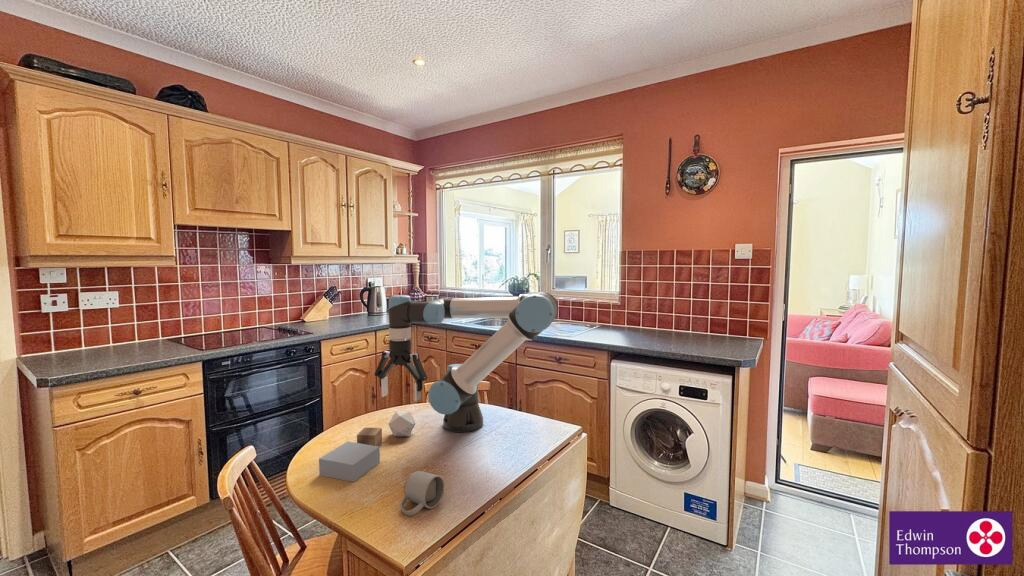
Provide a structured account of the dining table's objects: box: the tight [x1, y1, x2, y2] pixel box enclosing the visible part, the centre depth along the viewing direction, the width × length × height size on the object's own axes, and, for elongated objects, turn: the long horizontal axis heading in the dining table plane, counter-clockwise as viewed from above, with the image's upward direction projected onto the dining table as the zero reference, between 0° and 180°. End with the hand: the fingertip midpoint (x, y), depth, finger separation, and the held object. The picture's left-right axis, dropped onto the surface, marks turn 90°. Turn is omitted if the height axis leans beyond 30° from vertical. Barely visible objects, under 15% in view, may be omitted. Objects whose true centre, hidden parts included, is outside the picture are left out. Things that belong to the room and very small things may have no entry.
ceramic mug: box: [399, 470, 445, 517], centre depth 105 cm, size 11×8×8 cm
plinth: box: [318, 441, 381, 483], centre depth 123 cm, size 12×12×5 cm
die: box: [388, 410, 416, 437], centre depth 148 cm, size 8×9×10 cm
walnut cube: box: [356, 427, 383, 448], centre depth 137 cm, size 6×6×6 cm
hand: (400, 397), depth 147 cm, fingers open, 13 cm apart
